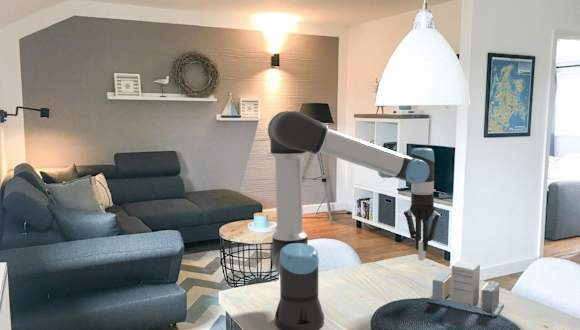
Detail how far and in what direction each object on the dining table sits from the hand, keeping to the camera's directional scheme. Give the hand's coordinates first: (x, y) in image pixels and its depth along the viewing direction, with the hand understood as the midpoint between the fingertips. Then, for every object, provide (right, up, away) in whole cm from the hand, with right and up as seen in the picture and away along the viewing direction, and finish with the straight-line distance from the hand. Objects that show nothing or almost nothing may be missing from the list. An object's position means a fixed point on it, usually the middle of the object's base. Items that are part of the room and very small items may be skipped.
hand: (421, 259), depth 169 cm
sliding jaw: (+6, -12, -3) cm, 14 cm away
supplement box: (+12, -13, -8) cm, 19 cm away
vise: (+12, -14, -8) cm, 20 cm away
